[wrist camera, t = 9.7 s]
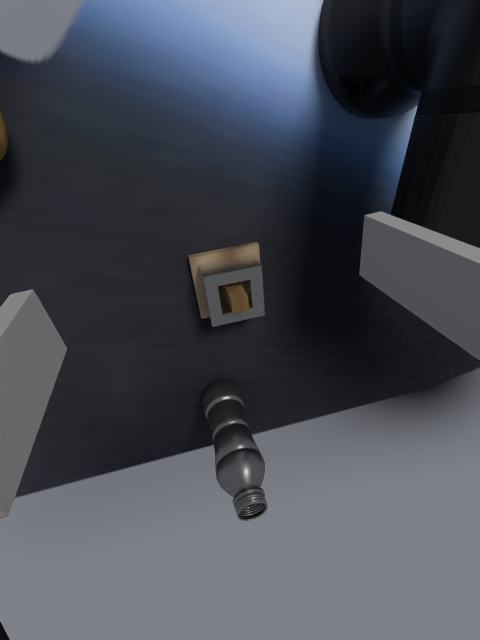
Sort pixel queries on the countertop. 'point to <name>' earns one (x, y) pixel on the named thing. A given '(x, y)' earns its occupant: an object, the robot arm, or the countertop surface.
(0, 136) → the cupcake
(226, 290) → the tan square plate
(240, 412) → the plastic bottle
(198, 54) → the countertop surface
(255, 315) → the grey square frame
